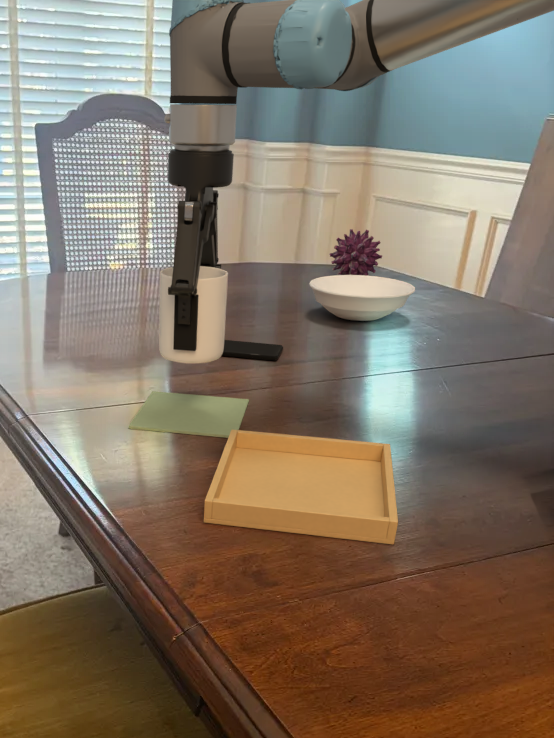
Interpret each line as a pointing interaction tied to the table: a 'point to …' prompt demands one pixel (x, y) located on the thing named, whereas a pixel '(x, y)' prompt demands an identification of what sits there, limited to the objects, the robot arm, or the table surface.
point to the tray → (305, 486)
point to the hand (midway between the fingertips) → (194, 336)
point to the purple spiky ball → (356, 254)
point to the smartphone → (252, 350)
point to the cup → (209, 317)
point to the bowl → (360, 295)
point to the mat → (190, 414)
